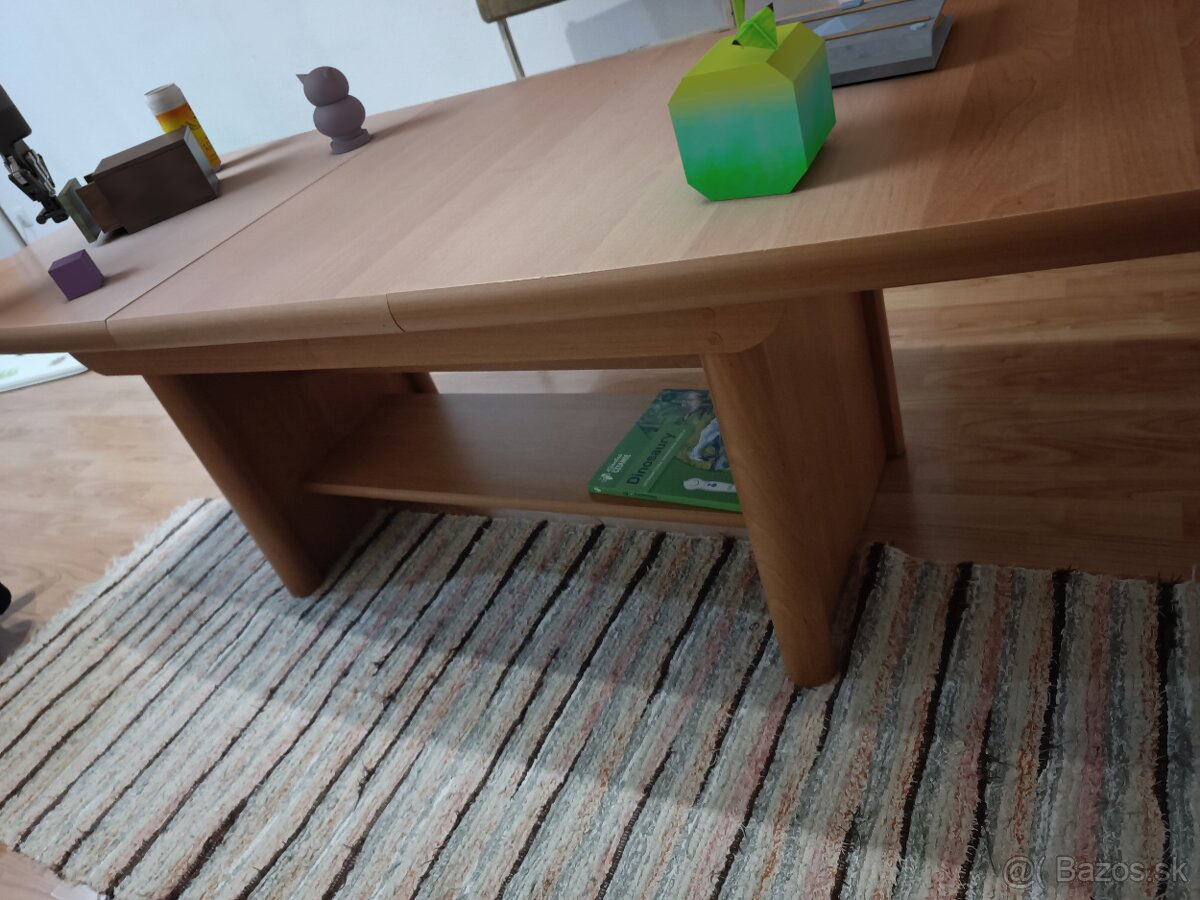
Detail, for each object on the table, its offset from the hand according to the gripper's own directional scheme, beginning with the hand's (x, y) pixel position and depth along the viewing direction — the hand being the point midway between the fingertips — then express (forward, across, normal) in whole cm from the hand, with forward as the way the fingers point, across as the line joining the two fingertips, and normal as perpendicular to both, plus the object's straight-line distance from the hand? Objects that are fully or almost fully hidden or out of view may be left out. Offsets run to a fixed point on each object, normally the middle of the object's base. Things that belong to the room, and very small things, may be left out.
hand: (63, 220), depth 137 cm
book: (+5, +68, +97) cm, 119 cm away
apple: (+5, +86, +78) cm, 116 cm away
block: (+4, +28, +5) cm, 29 cm away
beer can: (+5, -16, +21) cm, 27 cm away
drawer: (+4, 0, +7) cm, 8 cm away
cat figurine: (+5, +9, +46) cm, 47 cm away
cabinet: (+4, 0, +16) cm, 17 cm away
